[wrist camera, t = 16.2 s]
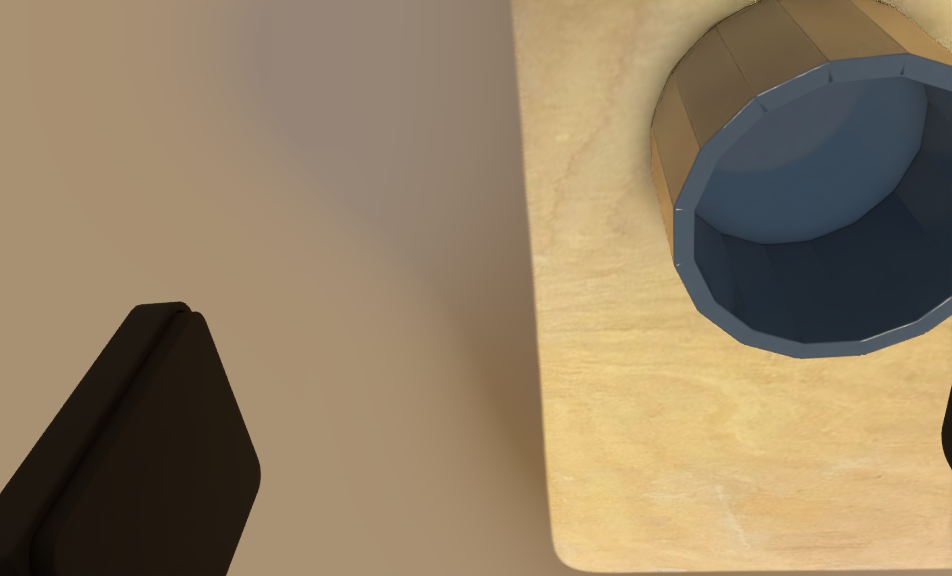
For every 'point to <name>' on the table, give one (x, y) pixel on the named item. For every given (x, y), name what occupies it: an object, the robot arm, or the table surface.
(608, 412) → the table surface
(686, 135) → the bowl
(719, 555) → the table surface
